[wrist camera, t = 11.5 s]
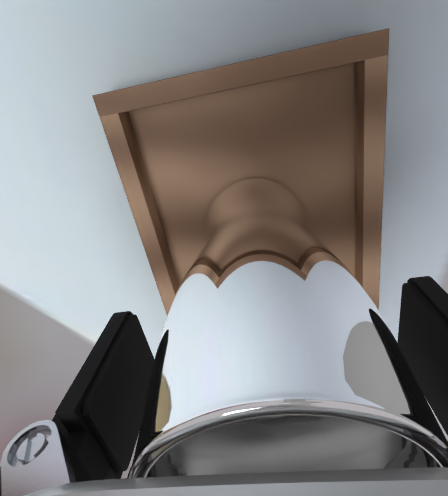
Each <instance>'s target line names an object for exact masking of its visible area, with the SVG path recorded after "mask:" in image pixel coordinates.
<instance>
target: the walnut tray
mask: <svg viewBox="0 0 448 496" xmlns="http://www.w3.org/2000/svg"><path fill="white" fill-rule="evenodd" d="M388 46H389V28H388V29H384V30H380V31H375V32H371V33H366V34H362V35H358V36H353V37H349V38H344V39H340V40H336V41H331V42H327V43H322V44H318V45H314V46H309V47H305V48H300V49H296V50H292V51H287V52H283V53H278V54H274V55H269V56H265V57H261V58H256V59H252V60H247V61H243V62H239V63H234V64H230V65H225V66H221V67H217V68H212V69H208V70H203V71H199V72H195V73H190V74H186V75H181V76H177V77H173V78H168V79H164V80H159V81H155V82H151V83H146V84H142V85H137V86H133V87H128V88H124V89H120V90H115V91H111V92H106V93H102V94H98V95H93V99H94V102H95V105H96V108H97V111H98V113H99V116H100V119H101V122H102V125H103V128H104V131H105V134H106V137H107V140H108V143H109V146H110V149H111V152H112V155H113V158H114V161H115V163H116V166H117V169H118V172H119V175H120V178H121V181H122V184H123V187H124V190H125V193H126V196H127V199H128V202H129V205H130V208H131V210H132V213H133V216H134V219H135V222H136V225H137V228H138V231H139V234H140V237H141V240H142V243H143V246H144V249H145V252H146V255H147V258H148V260H149V263H150V266H151V269H152V272H153V275H154V278H155V281H156V284H157V287H158V290H159V293H160V296H161V299H162V302H163V305H164V307H165V310H166V313H167V316H168V313H169V311H170V308H171V305H172V302H173V300H174V297H175V295H176V292H177V290H178V288H179V287H180V285H181V283H182V281H183V279H184V277H185V275H186V274H187V272H188V270H189V268H190V267H191V265H192V263H193V262H194V260H195V259H196V257H197V256H198V254H199V253H200V251H201V250H202V249H203V247H204V246H205V244H206V243H207V241H208V239H207V233H206V219H207V214H208V211H209V208H210V206H211V204H212V202H213V201H214V199H215V198H216V197H217V195H218V194H219V193H220V192H221V191H223V190H224V189H225V188H226V187H228V186H229V185H231V184H233V183H235V182H238V181H241V180H244V179H250V178H263V179H268V180H272V181H275V182H277V183H279V184H281V185H283V186H284V187H286V188H287V189H288V190H290V191H291V192H292V193H293V195H294V196H295V197H296V198H297V200H298V202H299V203H300V206H301V208H302V211H303V215H304V222H305V229H306V230H307V231H308V232H310V233H311V234H312V235H313V236H315V237H316V238H317V239H318V240H319V241H320V242H321V243H323V244H324V245H325V246H326V247H327V248H328V249H329V250H331V251H332V252H333V253H334V255H335V256H336V257H337V258H338V259H339V260H340V261H341V262H342V263H343V264H344V265H345V266H346V267H347V268H348V269H349V270H350V271H351V272H352V274H353V275H354V276H355V277H356V279H357V280H358V282H359V283H360V284H361V286H362V287H363V289H364V290H365V291H366V293H367V294H368V296H369V297H370V298H371V300H372V301H373V303H374V304H375V306H376V307H377V309H379V283H380V256H381V230H382V204H383V177H384V151H385V125H386V98H387V72H388Z"/></svg>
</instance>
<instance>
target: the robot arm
mask: <svg viewBox="0 0 448 496" xmlns="http://www.w3.org/2000/svg"><path fill="white" fill-rule="evenodd" d="M398 345H399V347H400V349H401V351H402V353H403V355H404V357H405V359H406V361H407V362H408V364H409V366H410V368H411V370H412V372H413V374H414V376H415V378H416V380H417V382H418V384H419V386H420V388H421V390H422V392H423V394H424V396H425V398H426V399H427V401H428V403H429V404H430V406H431V408H432V410H433V411H434V413H435V415H436V416H437V418H438V420H439V422H440V423H441V425H442V426H443V428H444V430H445V432H446V434H447V435H448V294H447V293H446V292H445V291H444V290H443V289H442V288H441V287H440V286H439V285H438V284H437V283H436V282H435V281H434V280H433V279H432V278H431V277H430V276H425V277H416V278H410V279H409V280H408V282H407V283H404V284H403V286H402V296H401V309H400V321H399V333H398ZM153 364H154V357H153V355H152V352H151V350H150V347H149V345H148V342H147V340H146V337H145V335H144V332H143V330H142V327H141V325H140V322H139V320H138V317H137V316H136V315H133V314H132V313H131V312H130V311H127V312H118V313H114V314H113V315H112V317H111V319H110V320H109V322H108V324H107V325H106V327H105V329H104V330H103V332H102V334H101V336H100V337H99V339H98V341H97V342H96V344H95V346H94V347H93V349H92V351H91V352H90V354H89V356H88V358H87V359H86V361H85V363H84V365H83V366H82V368H81V370H80V371H79V373H78V375H77V376H76V378H75V380H74V381H73V383H72V385H71V386H70V388H69V390H68V392H67V393H66V395H65V397H64V399H63V400H62V402H61V403H60V405H59V407H58V409H57V410H56V412H55V413H56V414H55V416H54V418H53V420H52V421H50V420H42V421H38V422H35V423H33V424H31V425H29V426H27V427H26V428H25V429H23V430H22V431H21V432H19V433H18V434H17V435H16V436H15V437H14V438H13V439H12V440H11V441H10V443H9V444H8V445H7V447H6V448H5V450H4V453H3V455H2V458H1V466H0V496H448V467H436V468H392V469H359V470H327V471H298V472H269V473H242V474H216V475H192V476H168V477H144V478H126V479H121V475H122V472H123V471H125V470H127V468H128V466H129V463H130V460H131V457H132V454H133V451H134V447H135V444H136V441H137V437H138V434H139V431H140V427H141V422H142V417H143V412H144V406H145V401H146V396H147V392H148V387H149V383H150V378H151V373H152V369H153Z"/></svg>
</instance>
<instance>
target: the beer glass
mask: <svg viewBox="0 0 448 496" xmlns="http://www.w3.org/2000/svg"><path fill="white" fill-rule="evenodd" d="M206 233H207V239H208V241H207V243H206V244H205V246H204V247H203V249H202V250H201V251H200V253H199V254H198V256H197V257H196V259H195V260H194V262H193V263H192V265H191V267H190V268H189V270H188V272H187V274H186V275H185V277H184V279H183V281H182V283H181V285H180V287H179V288H178V290H177V292H176V295H175V297H174V300H173V302H172V305H171V308H170V311H169V313H168V316H167V319H166V321H165V324H164V327H163V331H162V335H161V338H160V342H159V345H158V349H157V353H156V356H155V360H154V364H153V369H152V373H151V378H150V383H149V387H148V392H147V396H146V401H145V406H144V412H143V417H142V422H141V427H140V432H139V437H138V441H137V446H136V451H135V456H134V459H133V463H132V467H131V468H130V471H129V474H128V477H127V478H144V477H168V476H192V475H216V474H242V473H269V472H298V471H327V470H359V469H392V468H436V467H448V441H447V440H446V438H445V436H444V434H443V432H442V430H441V428H440V426H439V424H438V422H437V420H436V418H435V417H434V414H433V412H432V410H431V408H430V406H429V405H428V403H427V400H426V398H425V396H424V394H423V392H422V390H421V388H420V386H419V384H418V382H417V380H416V378H415V376H414V374H413V372H412V370H411V368H410V366H409V364H408V362H407V361H406V359H405V357H404V355H403V353H402V351H401V349H400V347H399V345H398V343H397V341H396V340H395V338H394V336H393V335H392V333H391V331H390V329H389V328H388V326H387V324H386V323H385V321H384V319H383V318H382V316H381V314H380V312H379V311H378V309H377V307H376V306H375V304H374V303H373V301H372V300H371V298H370V297H369V296H368V294H367V293H366V291H365V290H364V289H363V287H362V286H361V284H360V283H359V282H358V280H357V279H356V277H355V276H354V275H353V274H352V272H351V271H350V270H349V269H348V268H347V267H346V266H345V265H344V264H343V263H342V262H341V261H340V260H339V259H338V258H337V257H336V256H335V255H334V253H333V252H332V251H331V250H329V249H328V248H327V247H326V246H325V245H324V244H323V243H321V242H320V241H319V240H318V239H317V238H316V237H315V236H313V235H312V234H311V233H310V232H308V231H307V230H306V229H305V222H304V215H303V211H302V208H301V206H300V203H299V202H298V200H297V198H296V197H295V196H294V195H293V193H292V192H291V191H290V190H288V189H287V188H286V187H284V186H283V185H281V184H279V183H277V182H275V181H272V180H268V179H263V178H250V179H244V180H241V181H238V182H235V183H233V184H231V185H229V186H228V187H226V188H225V189H224V190H223V191H221V192H220V193H219V194H218V195H217V197H216V198H215V199H214V201H213V202H212V204H211V206H210V208H209V211H208V214H207V219H206Z"/></svg>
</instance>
